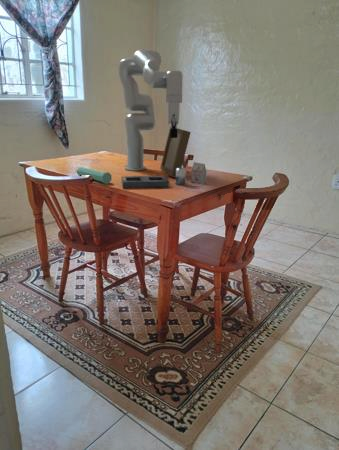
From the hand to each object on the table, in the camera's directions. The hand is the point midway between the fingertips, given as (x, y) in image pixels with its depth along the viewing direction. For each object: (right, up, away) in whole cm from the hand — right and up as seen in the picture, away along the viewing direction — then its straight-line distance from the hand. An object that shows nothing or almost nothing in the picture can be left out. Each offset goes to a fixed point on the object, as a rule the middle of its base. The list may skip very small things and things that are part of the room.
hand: (173, 137), depth 171 cm
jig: (-14, -23, +3) cm, 27 cm away
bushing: (+3, -22, +6) cm, 23 cm away
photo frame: (+3, -13, +31) cm, 34 cm away
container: (-40, -16, +13) cm, 45 cm away
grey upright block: (+13, -21, +11) cm, 27 cm away
